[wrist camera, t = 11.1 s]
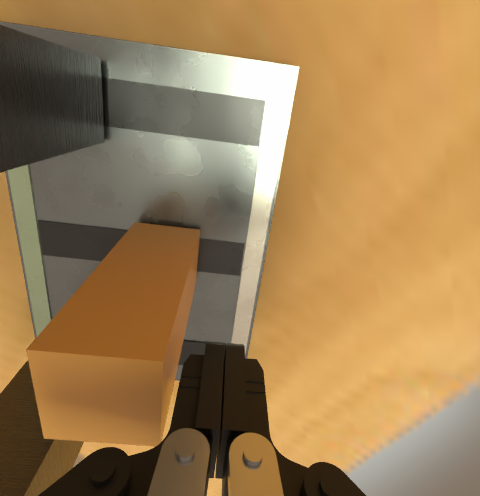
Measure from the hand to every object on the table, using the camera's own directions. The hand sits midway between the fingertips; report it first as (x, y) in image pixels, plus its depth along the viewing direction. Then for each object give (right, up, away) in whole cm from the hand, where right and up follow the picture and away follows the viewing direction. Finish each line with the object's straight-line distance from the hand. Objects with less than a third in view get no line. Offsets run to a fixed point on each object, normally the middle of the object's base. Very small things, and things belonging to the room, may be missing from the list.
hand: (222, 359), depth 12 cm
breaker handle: (-4, +4, +8) cm, 10 cm away
